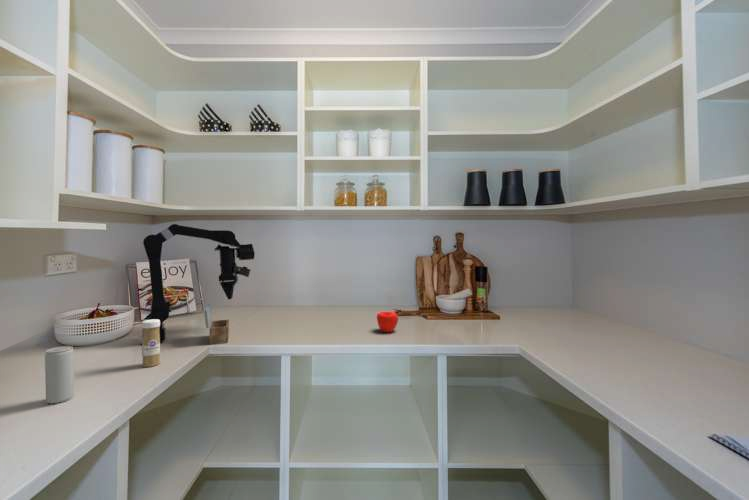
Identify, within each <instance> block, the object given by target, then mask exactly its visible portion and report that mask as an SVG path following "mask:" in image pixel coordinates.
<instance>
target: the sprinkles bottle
mask: <svg viewBox="0 0 749 500" xmlns="http://www.w3.org/2000/svg"><path fill="white" fill-rule="evenodd" d="M159 327H160V320H159V319H150V320H145V321H144V320H143V321H142V322H141V331H142V332H141V343H142V345H141V351H142V352H141V353H142V354H141V355H142V367H144V368H149V367H151V368H152V367H155V366H158V365H159V364H161V361H160V358H161V357H160V353H161V343H160V334H159Z"/></svg>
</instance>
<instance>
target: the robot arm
mask: <svg viewBox="0 0 749 500" xmlns="http://www.w3.org/2000/svg"><path fill="white" fill-rule="evenodd" d="M176 235H178V236H184V237H189V238H198V239H203V240H209V241H211V242H215V243H218V244H217V246H216V247H215V248H214V249H213V251H215V252H219V267H220V274H219V275H218V282H219V285H220V286H221V289H222V291H223V292H224V294H225V296H226V298H227V300H231V299H233V296H234V289H235V285H236V284H237V283H238V282H239V281H238V280H239V279H238V278H239V277H238V275H239V276H240V275H241V276H244V277H247V278H249V277H250V273H251V269H249V268H248V266H245V265H244V266H238V265H237V263H236V259H238V261H250V260H251V261H252V260H253V261H254V259H255V254H256V253H255V251H254V250H255V249H254V246H253V244H252V243H247V244H241V243H240V242H239V241H238V240H237V238H236V235H235V233H234V232H233V231H231V230H224V229H223V230H222V229H221V230H217V229H215V230H210V229H203V228H200V227H199V228H198V227H193V226H186V225H181V224H177V223H173V224H172V223H171V225H169V226H168V227H167V228H165V229H163V230H161V231H160V232H157V233H156V234H149V235H147V236H145V237H144V239H143V241H142V245H143V247H144V250H145V252H146V256H147V259H148V264H149V265H148V266H149V278H150V284H151V285H150V286H151V287H150V288H151V295H152V296H151V303H150V310H149V311H150V313H148V315H146V317H144V318H143V321H145V320H150V319H159V320H160V327H159V334H160V344H162V343H164V341H165V340H166V338H167V328H166V327H165V323H164V322H165V321H166V320H168V318H169V316H170V313H172V309H171V308H170V307H171V301H170V299H165V295H164V294H165V293H164V285H163V283H164V282H163V273H162V263H161V258H162V249H163V243H165V242H166V241H168V240H170V239H171V238H172V237H175V236H176ZM224 245H225V246H224ZM140 346H142V342H141V343H140Z"/></svg>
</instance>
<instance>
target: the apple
mask: <svg viewBox="0 0 749 500" xmlns="http://www.w3.org/2000/svg"><path fill="white" fill-rule="evenodd" d="M376 321H377V324H378V328H379V330H381V332H382V333H392V332H393V331H394V330H395V329H396V327H397V324H398V322H399V315H398V313H395V312H392V311H380V312H378V313H377V314H376Z"/></svg>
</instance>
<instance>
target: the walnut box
mask: <svg viewBox="0 0 749 500" xmlns="http://www.w3.org/2000/svg"><path fill="white" fill-rule="evenodd" d="M229 337H230V319H220V320H219V319H218V320H211V323H210V326H209V345H220V344H228V343H229Z"/></svg>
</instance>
